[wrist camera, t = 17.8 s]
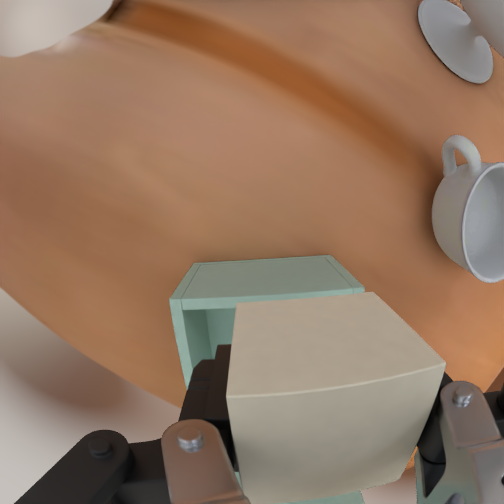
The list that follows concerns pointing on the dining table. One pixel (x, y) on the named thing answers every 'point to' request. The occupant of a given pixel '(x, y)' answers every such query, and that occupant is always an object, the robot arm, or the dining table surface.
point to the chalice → (464, 34)
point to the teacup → (471, 211)
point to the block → (326, 395)
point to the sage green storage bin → (244, 297)
